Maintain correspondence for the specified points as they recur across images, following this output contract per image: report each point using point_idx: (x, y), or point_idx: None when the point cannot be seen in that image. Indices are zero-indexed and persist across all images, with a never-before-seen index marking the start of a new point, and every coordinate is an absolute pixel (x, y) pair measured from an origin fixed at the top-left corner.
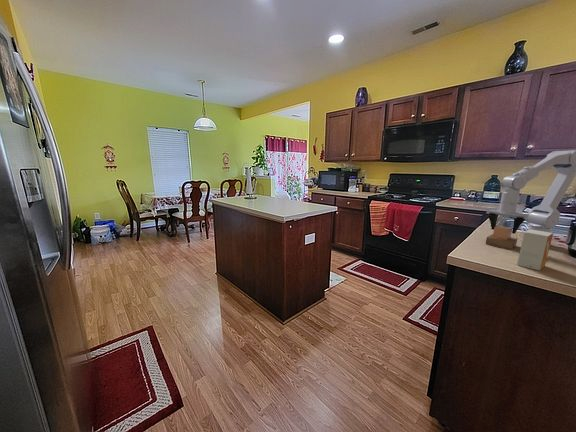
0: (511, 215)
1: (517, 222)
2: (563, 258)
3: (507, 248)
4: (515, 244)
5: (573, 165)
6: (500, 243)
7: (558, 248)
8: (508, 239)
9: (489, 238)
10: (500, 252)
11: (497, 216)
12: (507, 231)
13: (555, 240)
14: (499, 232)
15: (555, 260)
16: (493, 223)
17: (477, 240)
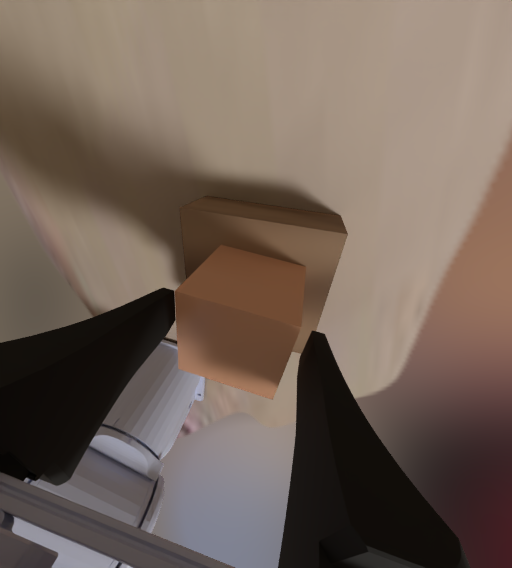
0: (20, 540)
1: (10, 350)
2: (46, 222)
3: (218, 198)
4: None
5: None
6: (251, 210)
7: None
8: None
9: (324, 227)
10: (226, 12)
11: (287, 537)
12: (189, 279)
13: None
14: (256, 281)
15: (28, 147)
16: (318, 388)
17: (388, 280)
